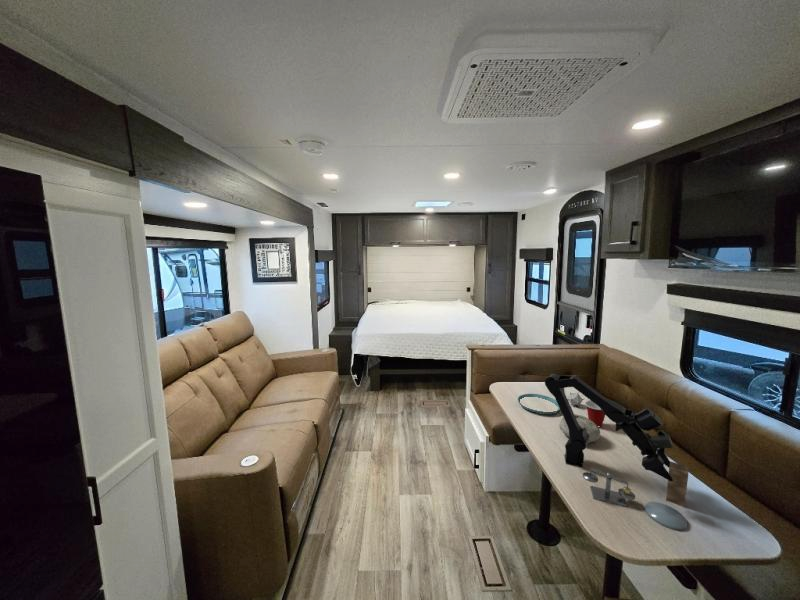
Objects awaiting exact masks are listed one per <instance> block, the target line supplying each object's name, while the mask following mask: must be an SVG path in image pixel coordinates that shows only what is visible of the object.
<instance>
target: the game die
mask: <svg viewBox="0 0 800 600" xmlns="http://www.w3.org/2000/svg"><path fill="white" fill-rule="evenodd" d="M567 399H568V402H569V404H570V405H571V406H572V405H580V406H581V404H582V402H583V401H584V400H585V398H584V399H583V398H582V396H580V394H579V392H577V393H572V392H569V396H568V397H567Z"/></svg>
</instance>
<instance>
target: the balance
mask: <svg viewBox="0 0 800 600" xmlns="http://www.w3.org/2000/svg"><path fill="white" fill-rule="evenodd" d="M589 471H590V472H589ZM589 471H588V472H583V473H582V478H583V479H585V481H587V482H591V483H594V484H595V483H598V482H599V477H598V476H597V475H595V474H594V473H597V474H599V475H601V476H605V478H606V481H605V488H603V487H598V486H594V485H589V487H590V491H591V495H592V499H593V500H598V501H602V502H606V503H609V504H613V505H618V506H622V507H626V506H627V504H626V501H625V500H629V501H632V500H635V499H636V495H635V493H634V492H633V491H632V489H631V488H630V487H629V482H628V481H627V480H624V479H622V478H619V477H617V476H616V475H615V476H614V475H612V474H611V472H609V471H607V472H604V471H602V470H599V469H596V468H594V467H590V470H589ZM592 472H594V473H592ZM612 480H613V481H616V482H619V483H621V484H625V485H626V486H623V488H619V489H618V491H615V490H612V489H611V485H612Z"/></svg>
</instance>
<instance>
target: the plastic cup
mask: <svg viewBox="0 0 800 600" xmlns="http://www.w3.org/2000/svg"><path fill="white" fill-rule="evenodd" d="M584 405H585V407H586V409H587V411H586V412H587V418H588V419H589V420H591V421H592V422H594V423H595V424H596V425H597V426H602V427H603V424H604V420H605V418H606V417H605V416H606V415H605V414H604V412H603V411H602V410H601V408H600V407H599V406H598V405H596V404H595V403H594V402H592V401H591V400H590V399H588V400H586V401H584Z"/></svg>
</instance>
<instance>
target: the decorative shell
mask: <svg viewBox="0 0 800 600" xmlns="http://www.w3.org/2000/svg"><path fill="white" fill-rule="evenodd" d="M574 415H575V417H576V419H577V422H578V424H579V425H580V426H581V427H582V428H584V427H585V428H586V430H587V433H588V434H589V435H590V437H589V442H588V444H590V443H593V442H596V441H598V440H599V439H600V437H601V429H600V428H599V427H598V426H597V425H596V424H595V423H594V422H592V421H591V420H589V418H588V417H586V416H584V415H582V414H575V413H574ZM558 427H559V429H560V431H561V432H562V433H563V434H565V436H567V437H569V428H568V426H567V424H566V421H565V419H564V417H563V416H562V418H560V421H559V425H558ZM569 438H570V437H569Z"/></svg>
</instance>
